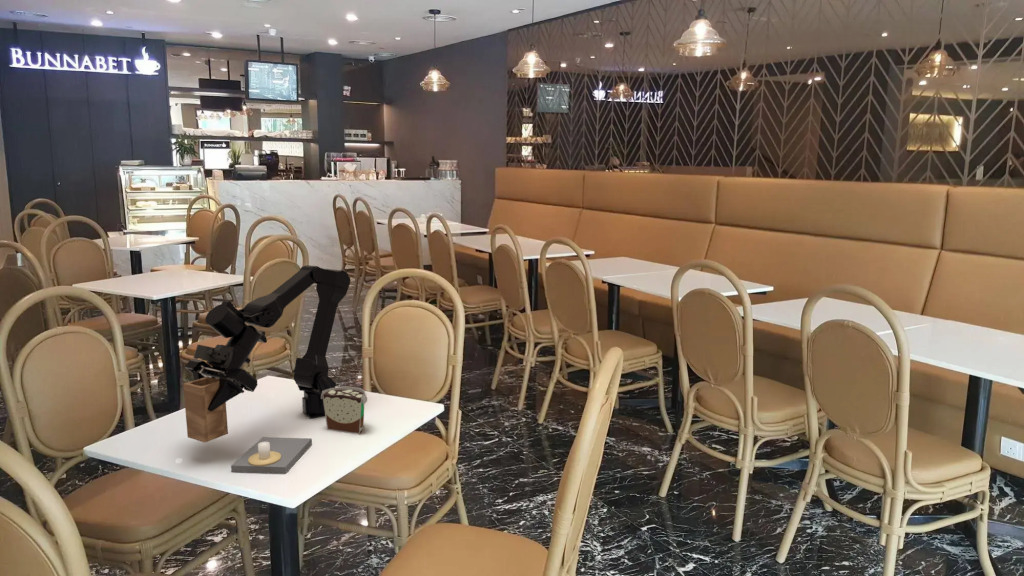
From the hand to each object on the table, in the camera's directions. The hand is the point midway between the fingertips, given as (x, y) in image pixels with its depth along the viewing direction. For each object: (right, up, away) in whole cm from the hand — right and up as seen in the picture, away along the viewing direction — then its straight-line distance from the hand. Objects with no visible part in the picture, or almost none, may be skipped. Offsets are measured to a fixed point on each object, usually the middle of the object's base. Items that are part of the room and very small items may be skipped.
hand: (200, 408), depth 154 cm
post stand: (+15, -12, +3) cm, 20 cm away
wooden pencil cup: (+1, -7, +2) cm, 7 cm away
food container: (+28, -9, +21) cm, 37 cm away
